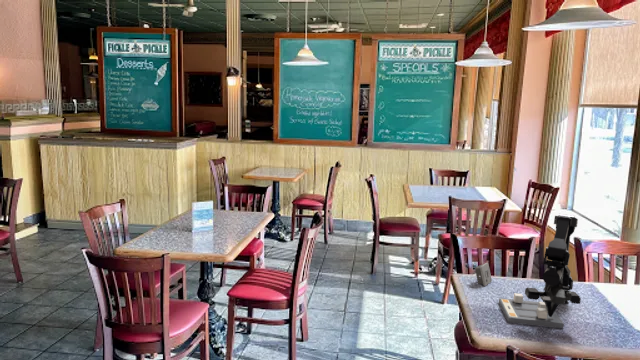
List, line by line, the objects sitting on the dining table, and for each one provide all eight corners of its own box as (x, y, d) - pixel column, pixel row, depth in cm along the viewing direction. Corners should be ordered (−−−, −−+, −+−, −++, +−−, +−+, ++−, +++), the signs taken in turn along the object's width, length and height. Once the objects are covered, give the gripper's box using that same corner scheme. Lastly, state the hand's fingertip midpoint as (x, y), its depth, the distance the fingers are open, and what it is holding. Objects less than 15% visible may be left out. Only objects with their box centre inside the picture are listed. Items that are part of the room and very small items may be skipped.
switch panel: (548, 307, 198) (548, 302, 197) (563, 328, 178) (563, 322, 178) (498, 302, 201) (499, 297, 201) (508, 322, 182) (508, 317, 181)
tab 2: (544, 315, 183) (545, 308, 183) (546, 318, 180) (547, 311, 180) (536, 314, 184) (537, 307, 183) (538, 318, 181) (539, 310, 180)
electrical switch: (485, 286, 220) (485, 267, 219) (474, 284, 223) (474, 265, 222) (492, 281, 227) (491, 263, 226) (481, 280, 230) (481, 261, 230)
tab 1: (545, 309, 190) (546, 302, 189) (547, 312, 187) (548, 305, 186) (537, 308, 190) (538, 301, 190) (539, 311, 187) (540, 304, 187)
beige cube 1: (520, 300, 198) (521, 293, 197) (522, 303, 195) (523, 296, 194) (513, 299, 198) (514, 293, 198) (515, 302, 195) (515, 295, 195)
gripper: (534, 282, 173) (529, 322, 175) (588, 287, 170) (583, 328, 172) (526, 273, 184) (522, 310, 186) (577, 277, 180) (572, 315, 183)
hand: (549, 316), depth 181 cm, fingers closed
